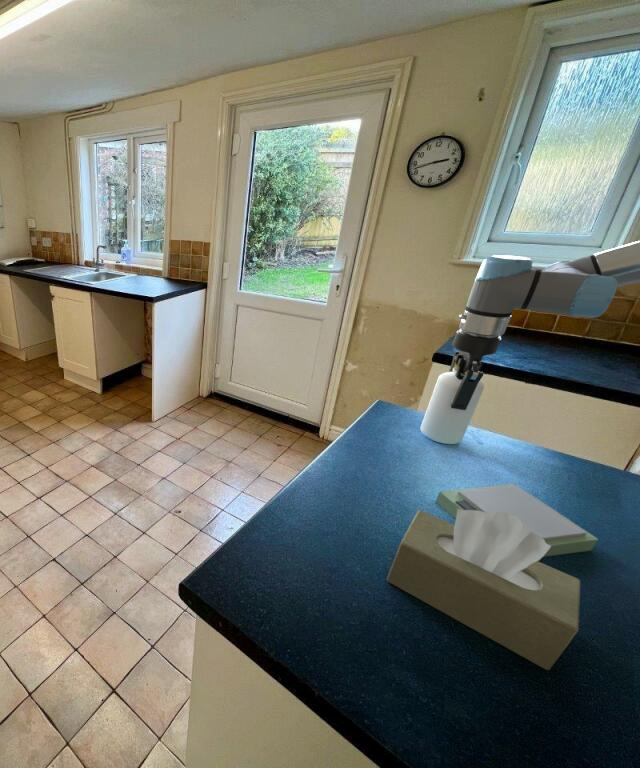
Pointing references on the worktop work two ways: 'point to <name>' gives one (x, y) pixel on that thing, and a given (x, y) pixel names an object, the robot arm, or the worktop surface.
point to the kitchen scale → (521, 515)
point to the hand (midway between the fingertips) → (443, 427)
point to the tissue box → (490, 581)
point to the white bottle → (448, 410)
